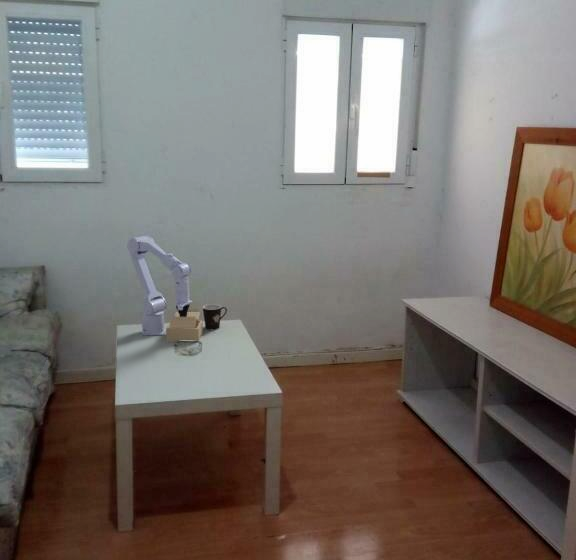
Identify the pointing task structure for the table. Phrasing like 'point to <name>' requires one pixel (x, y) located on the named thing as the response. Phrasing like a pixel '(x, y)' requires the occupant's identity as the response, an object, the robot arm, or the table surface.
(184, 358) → the table surface
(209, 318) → the coffee mug
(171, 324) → the flap near
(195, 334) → the carton
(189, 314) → the flap far
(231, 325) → the table surface
